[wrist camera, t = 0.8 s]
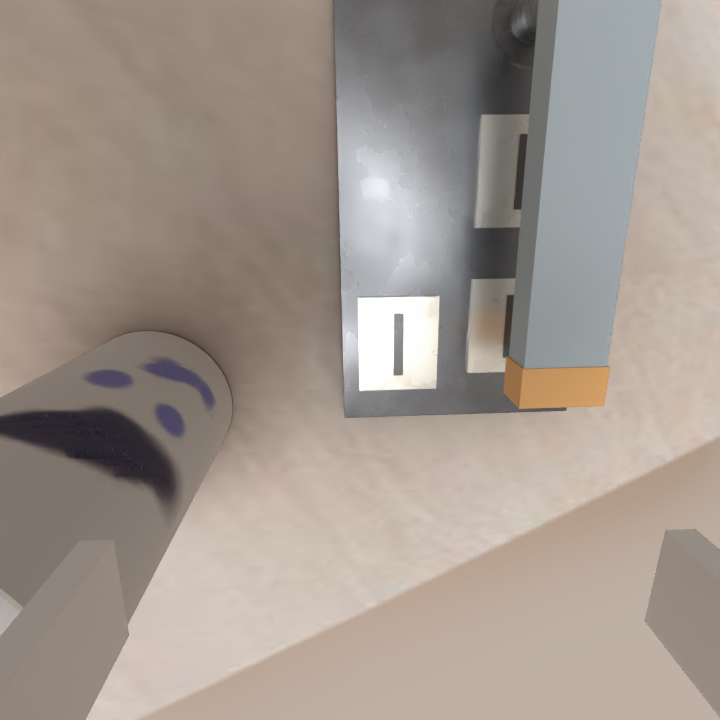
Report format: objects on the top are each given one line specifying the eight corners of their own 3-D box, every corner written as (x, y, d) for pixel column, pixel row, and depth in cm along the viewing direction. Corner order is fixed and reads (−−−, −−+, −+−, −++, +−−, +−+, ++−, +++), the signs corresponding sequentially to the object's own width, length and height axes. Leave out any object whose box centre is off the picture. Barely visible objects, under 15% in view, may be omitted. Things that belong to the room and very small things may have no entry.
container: (253, 363, 30) (110, 607, 11) (207, 486, 33) (25, 859, 14) (101, 306, 29) (-368, 475, 10) (65, 440, 31) (-365, 786, 12)
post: (487, -18, 25) (538, -100, 18) (566, -17, 25) (644, -98, 19) (482, 75, 26) (528, 28, 20) (558, 75, 26) (628, 28, 20)
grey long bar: (543, -92, 18) (569, -133, 16) (645, -90, 18) (685, -131, 16) (503, 392, 24) (518, 408, 22) (581, 390, 24) (604, 406, 22)
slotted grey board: (333, -3, 25) (333, -18, 23) (606, -2, 25) (624, -16, 24) (344, 410, 32) (344, 420, 30) (558, 403, 32) (568, 413, 31)
